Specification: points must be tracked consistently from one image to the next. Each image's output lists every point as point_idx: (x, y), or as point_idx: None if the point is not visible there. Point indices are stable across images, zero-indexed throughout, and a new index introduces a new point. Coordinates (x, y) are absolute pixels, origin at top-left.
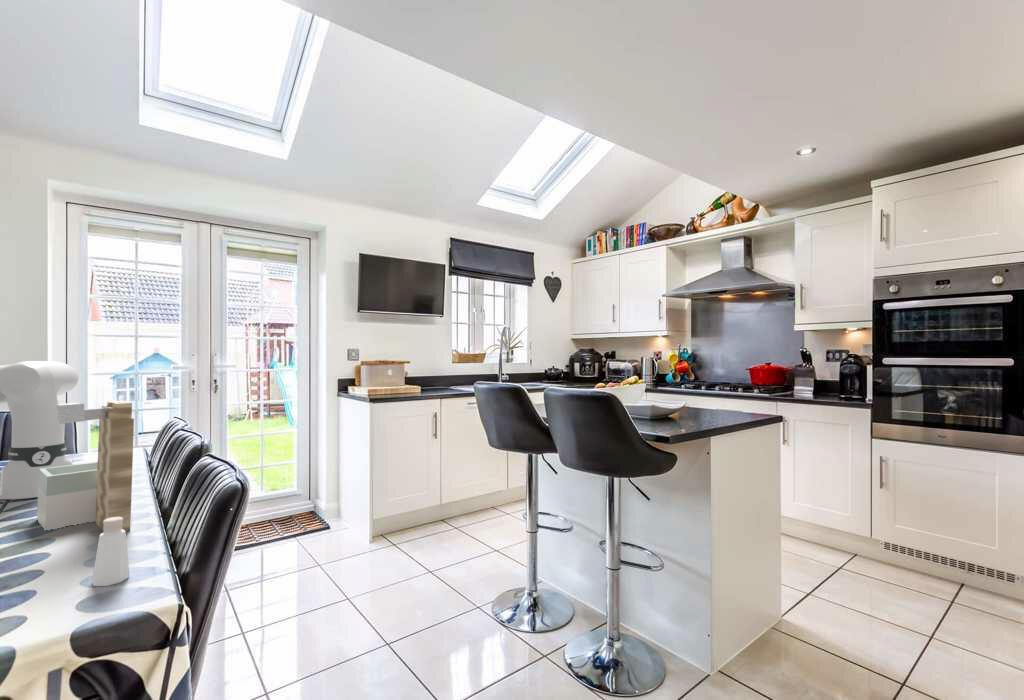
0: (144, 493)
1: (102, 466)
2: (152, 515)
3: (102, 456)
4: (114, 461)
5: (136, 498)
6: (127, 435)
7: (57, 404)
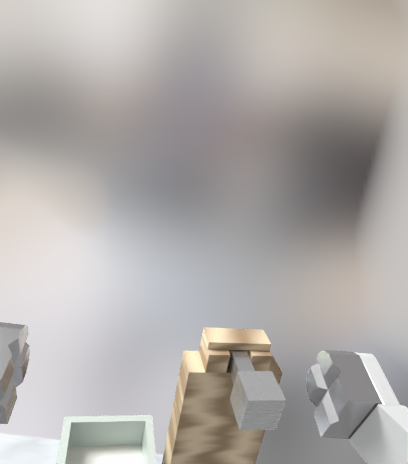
0: (10, 438)
1: (209, 445)
2: None
3: (211, 431)
4: None
5: (36, 453)
6: None
7: (254, 399)
